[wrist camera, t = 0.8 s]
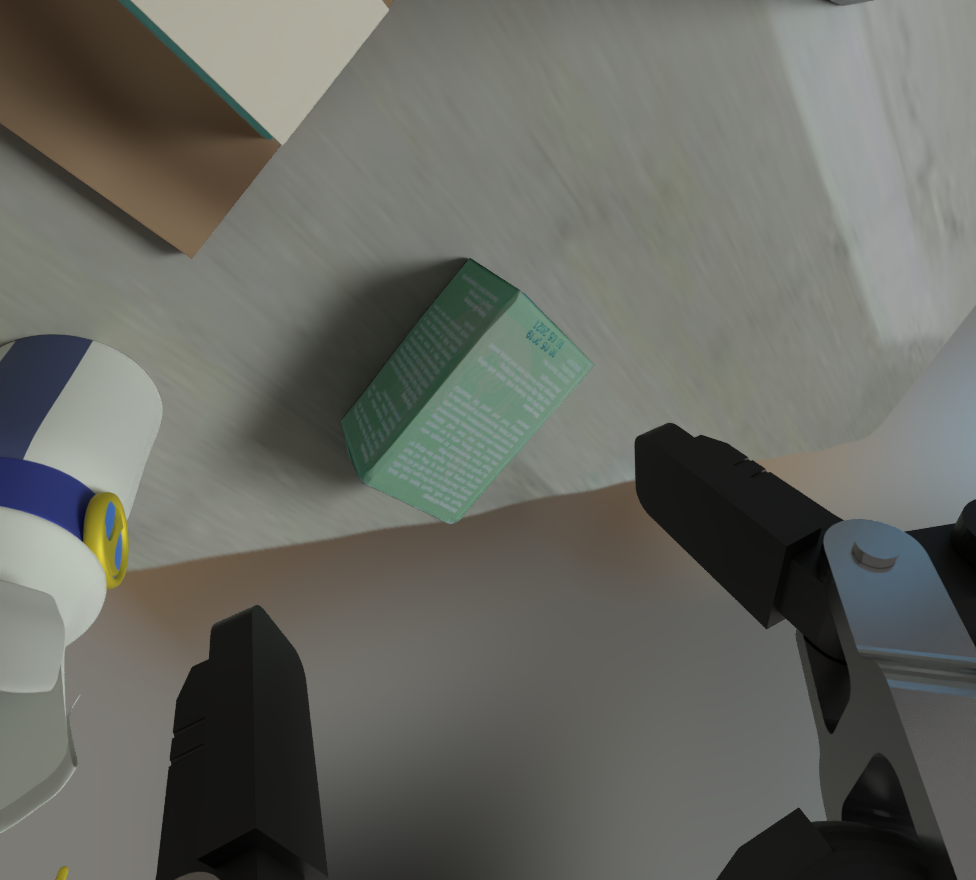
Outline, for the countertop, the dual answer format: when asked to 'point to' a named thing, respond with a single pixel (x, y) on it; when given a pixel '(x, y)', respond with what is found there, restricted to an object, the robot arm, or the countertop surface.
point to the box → (461, 395)
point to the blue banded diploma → (59, 536)
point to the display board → (125, 115)
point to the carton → (263, 50)
